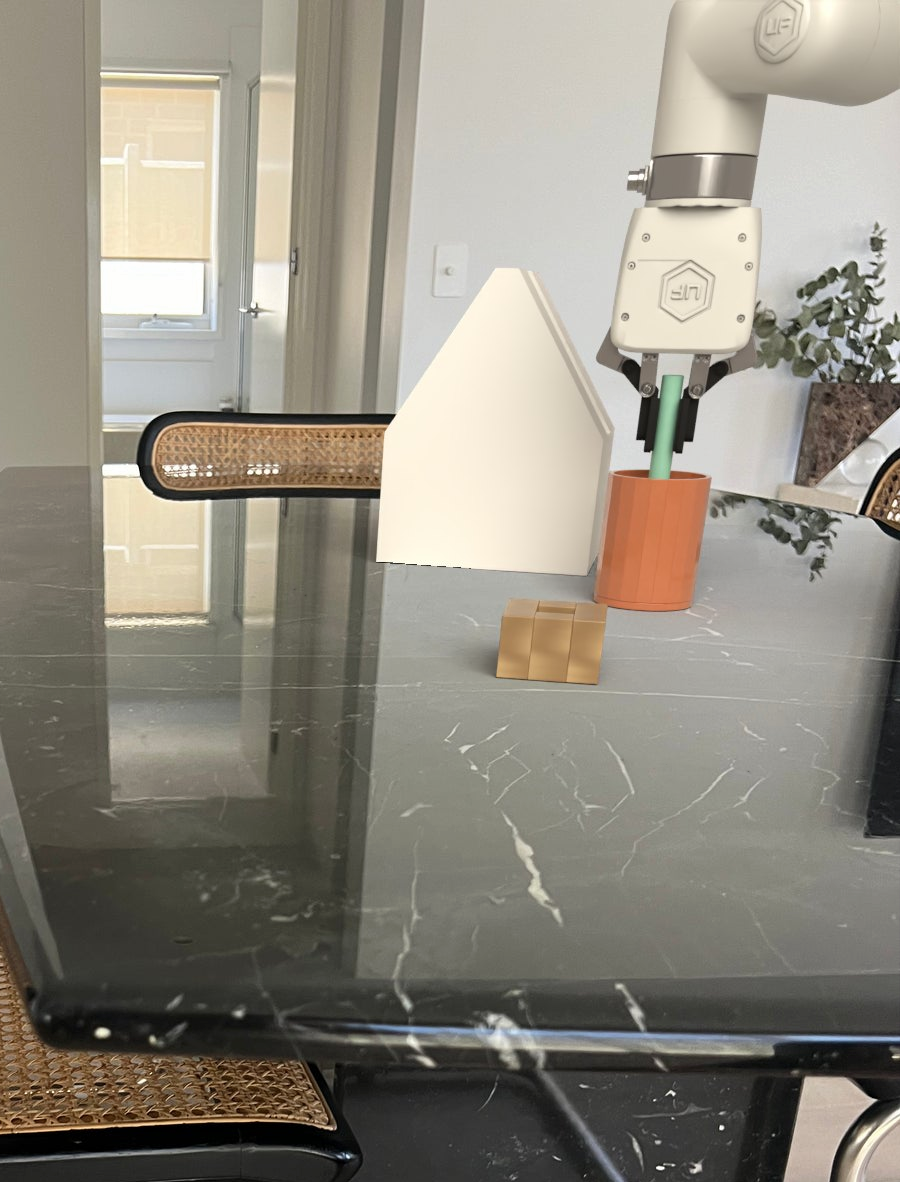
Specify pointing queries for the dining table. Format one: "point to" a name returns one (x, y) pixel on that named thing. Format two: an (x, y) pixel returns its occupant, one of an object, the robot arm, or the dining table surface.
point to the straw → (666, 426)
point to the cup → (651, 540)
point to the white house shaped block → (499, 445)
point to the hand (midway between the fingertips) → (662, 449)
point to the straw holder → (551, 641)
